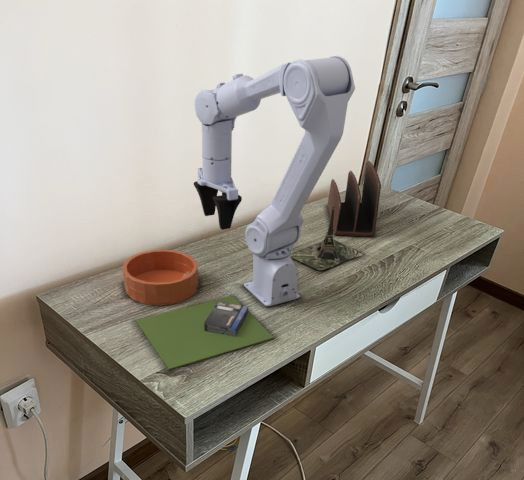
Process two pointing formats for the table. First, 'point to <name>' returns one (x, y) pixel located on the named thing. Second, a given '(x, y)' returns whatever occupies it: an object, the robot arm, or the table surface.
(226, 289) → the table surface
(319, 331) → the table surface
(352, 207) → the letter holder
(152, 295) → the pot
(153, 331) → the cloth
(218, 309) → the mini dv tape
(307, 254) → the eiffel tower figurine
